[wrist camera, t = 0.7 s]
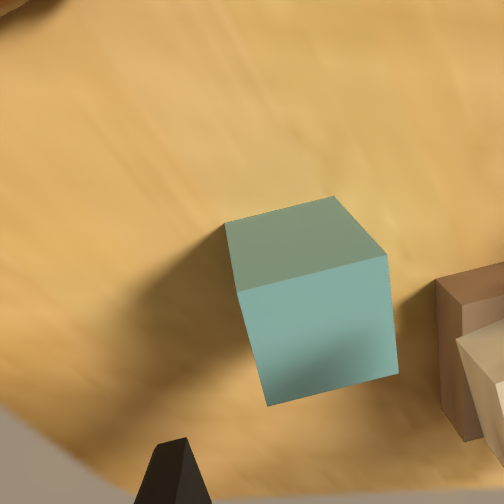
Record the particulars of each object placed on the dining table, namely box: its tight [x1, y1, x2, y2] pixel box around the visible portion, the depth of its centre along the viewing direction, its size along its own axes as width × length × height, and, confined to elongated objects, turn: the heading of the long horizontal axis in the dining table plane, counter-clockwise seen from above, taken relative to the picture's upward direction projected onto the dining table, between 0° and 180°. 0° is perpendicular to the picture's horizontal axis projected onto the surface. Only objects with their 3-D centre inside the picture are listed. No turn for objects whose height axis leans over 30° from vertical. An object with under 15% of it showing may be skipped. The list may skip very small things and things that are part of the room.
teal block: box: [224, 196, 399, 407], centre depth 15 cm, size 4×4×5 cm
